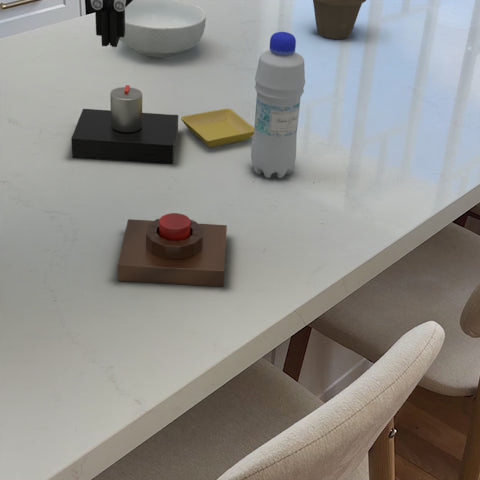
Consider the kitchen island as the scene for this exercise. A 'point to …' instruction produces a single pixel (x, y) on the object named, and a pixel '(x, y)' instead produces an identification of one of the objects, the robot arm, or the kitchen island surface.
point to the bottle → (277, 106)
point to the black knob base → (125, 138)
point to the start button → (174, 227)
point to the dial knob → (126, 109)
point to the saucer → (218, 127)
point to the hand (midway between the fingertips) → (110, 42)
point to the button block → (173, 255)
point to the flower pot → (336, 17)
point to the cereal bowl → (162, 26)
